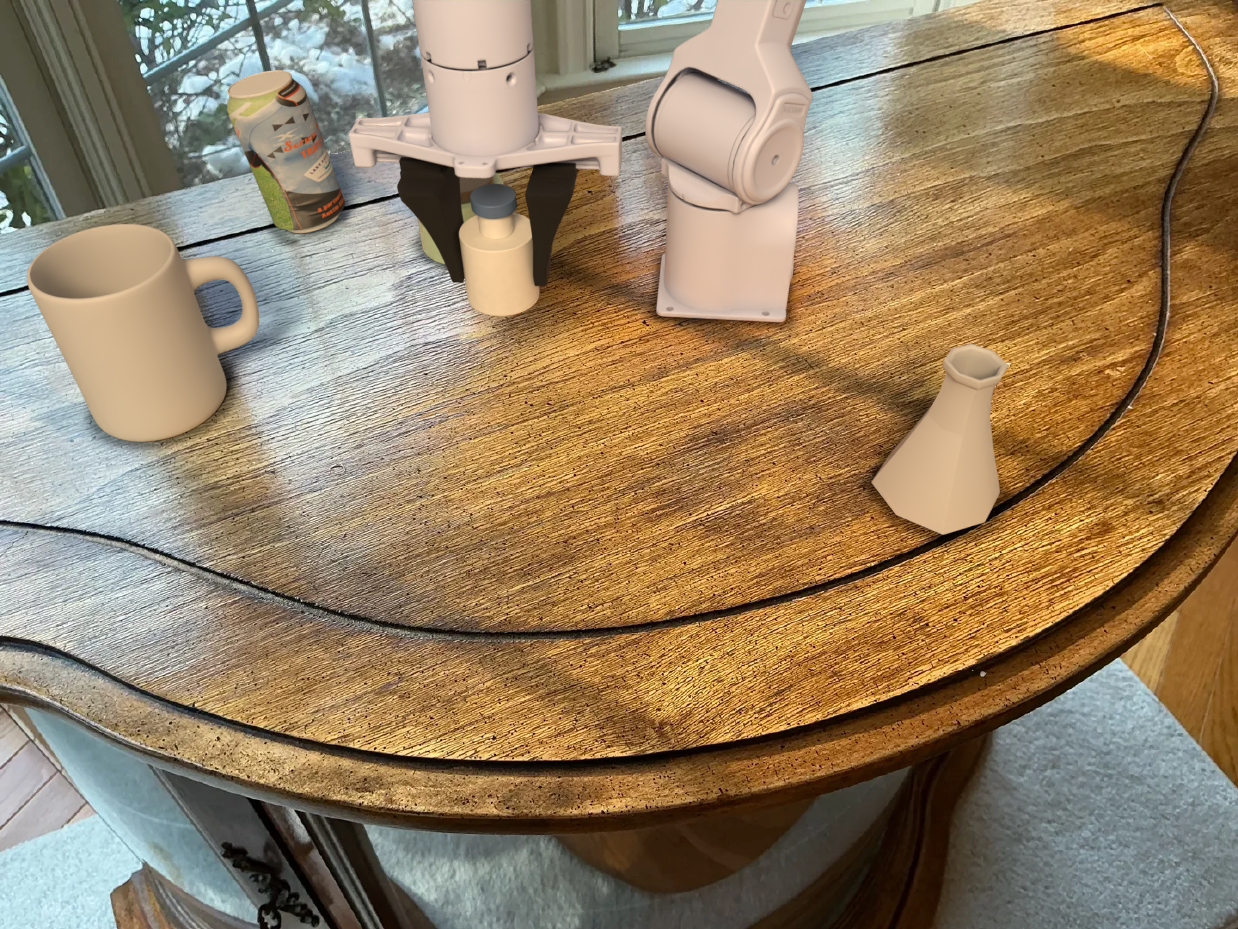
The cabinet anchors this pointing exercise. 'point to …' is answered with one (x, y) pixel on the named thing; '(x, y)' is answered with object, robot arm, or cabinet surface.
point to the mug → (139, 327)
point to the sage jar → (465, 190)
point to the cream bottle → (498, 253)
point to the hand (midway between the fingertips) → (500, 275)
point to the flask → (949, 450)
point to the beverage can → (285, 151)
